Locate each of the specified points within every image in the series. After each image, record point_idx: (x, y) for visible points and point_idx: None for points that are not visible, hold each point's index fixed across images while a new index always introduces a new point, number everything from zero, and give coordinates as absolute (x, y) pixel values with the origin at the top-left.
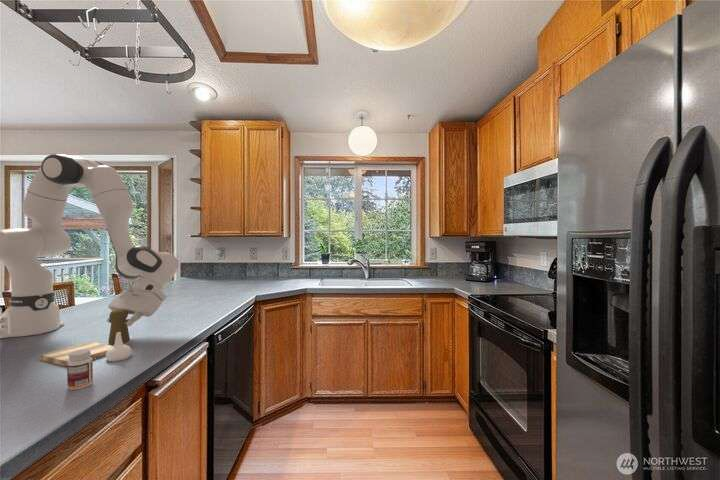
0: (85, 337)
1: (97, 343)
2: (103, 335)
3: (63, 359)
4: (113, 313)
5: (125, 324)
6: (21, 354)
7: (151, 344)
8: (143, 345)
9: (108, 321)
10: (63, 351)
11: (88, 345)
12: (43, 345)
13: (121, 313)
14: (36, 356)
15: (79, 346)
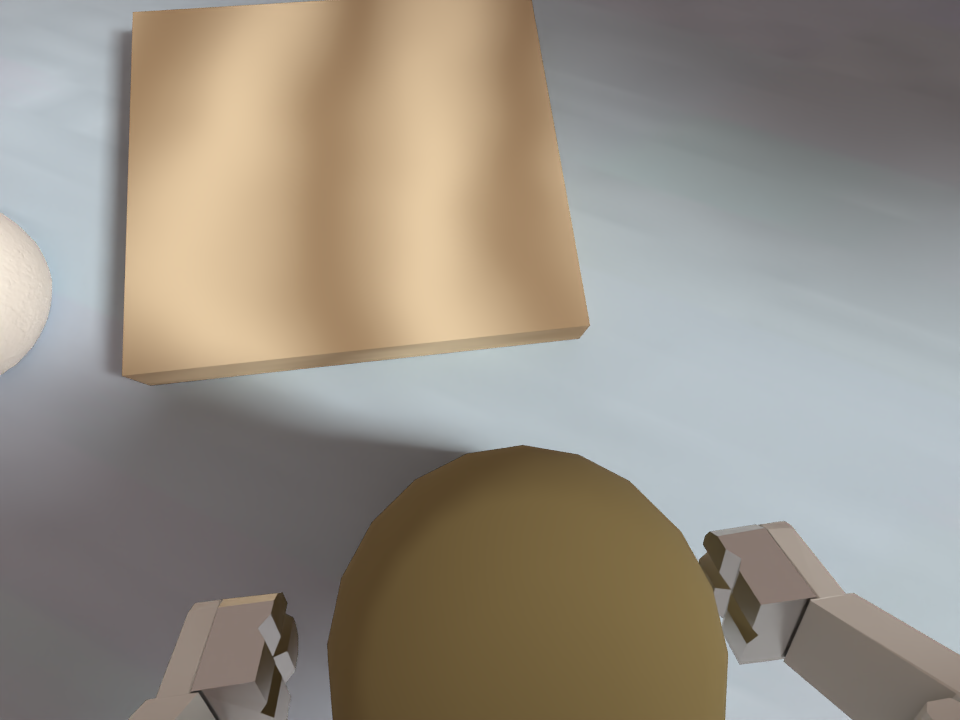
0: (943, 435)
1: (445, 326)
2: (883, 573)
3: (229, 15)
4: (447, 480)
5: (284, 604)
6: (786, 9)
7: (28, 702)
8: (87, 629)
9: (738, 531)
10: (458, 89)
11: (454, 256)
12: (933, 154)
13: (334, 630)
14: (640, 37)
15: (494, 204)
